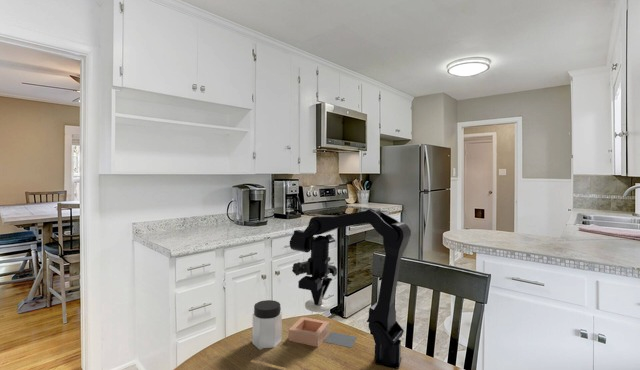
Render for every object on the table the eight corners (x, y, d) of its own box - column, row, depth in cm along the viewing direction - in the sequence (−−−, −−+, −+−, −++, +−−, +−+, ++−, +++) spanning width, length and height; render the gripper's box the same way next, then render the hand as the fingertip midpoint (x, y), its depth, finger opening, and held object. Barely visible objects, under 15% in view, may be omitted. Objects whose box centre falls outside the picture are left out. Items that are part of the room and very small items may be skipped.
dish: (329, 333, 106) (329, 321, 105) (318, 348, 96) (318, 335, 96) (301, 328, 109) (301, 316, 109) (288, 342, 100) (288, 329, 100)
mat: (357, 338, 103) (357, 336, 103) (351, 349, 96) (351, 347, 96) (331, 333, 106) (331, 331, 106) (323, 343, 99) (323, 341, 99)
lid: (334, 304, 105) (335, 288, 105) (325, 314, 97) (326, 297, 97) (311, 299, 108) (311, 284, 108) (300, 309, 100) (301, 292, 100)
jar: (285, 344, 98) (286, 306, 98) (262, 353, 93) (263, 313, 93) (271, 333, 105) (271, 297, 105) (248, 341, 100) (248, 303, 100)
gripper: (308, 246, 114) (307, 289, 114) (283, 258, 96) (282, 309, 97) (338, 249, 109) (336, 294, 110) (317, 263, 92) (315, 316, 93)
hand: (318, 302), depth 102 cm, fingers closed on lid, 3 cm apart
